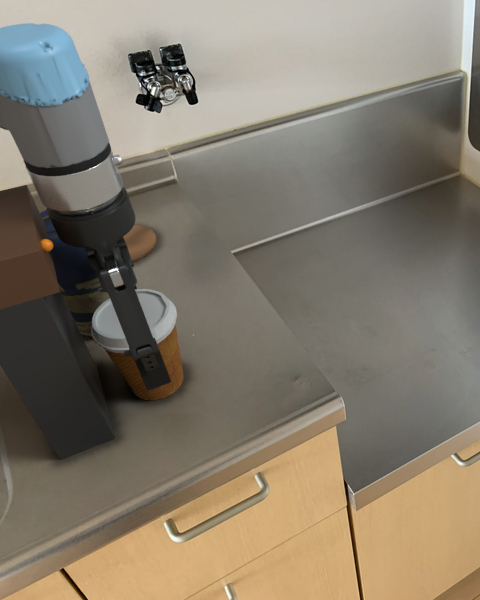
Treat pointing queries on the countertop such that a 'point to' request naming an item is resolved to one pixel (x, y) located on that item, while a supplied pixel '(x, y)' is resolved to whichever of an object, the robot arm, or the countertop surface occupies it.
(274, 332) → the countertop surface
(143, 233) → the cork coaster
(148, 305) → the disposable coffee cup
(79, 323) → the canister
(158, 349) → the robot arm
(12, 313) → the wood-topped grey pedestal
